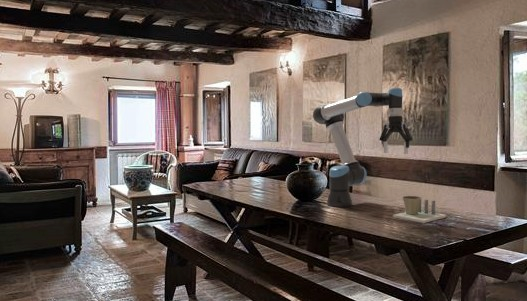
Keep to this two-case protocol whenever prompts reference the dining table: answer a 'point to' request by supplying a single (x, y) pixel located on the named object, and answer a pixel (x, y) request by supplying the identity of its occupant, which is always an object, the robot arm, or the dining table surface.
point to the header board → (421, 214)
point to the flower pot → (411, 204)
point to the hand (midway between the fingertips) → (395, 153)
